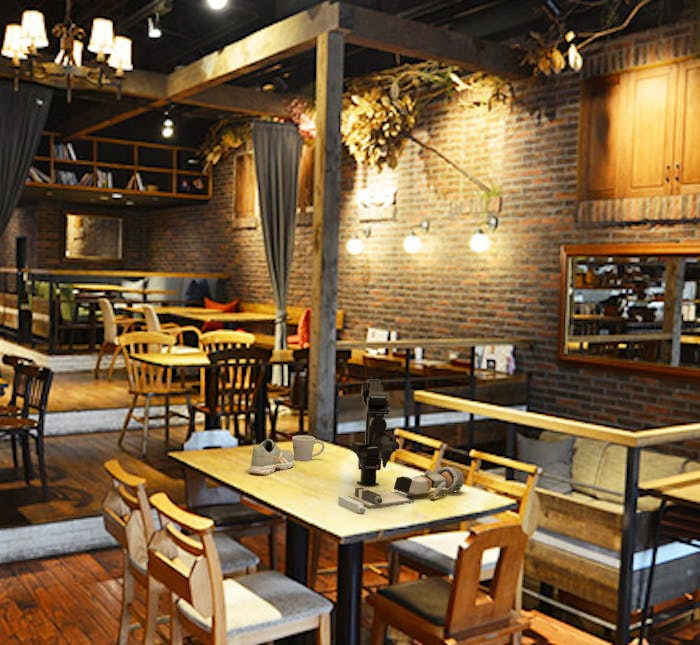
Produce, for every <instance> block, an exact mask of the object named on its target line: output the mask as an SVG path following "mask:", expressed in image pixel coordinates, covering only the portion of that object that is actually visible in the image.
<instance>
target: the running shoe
mask: <svg viewBox="0 0 700 645" xmlns="http://www.w3.org/2000/svg"><path fill="white" fill-rule="evenodd" d="M294 464H295V459H294V452H293V451H291V450H289V449H281V448H279V445H278V444H277V443H275V442H274V441H273V440H272V439H271V438H266V439H265V440H263V441H262V442H261V443H260V444H259V445H258V446H257V445H253V447H252V455H251V463H250V466H249V470H248V472H249V474H251V473H252V474H253V475H260V476H261V475H262V476H270V475H272V474H274V472H275V471H276V470H277V471H284V470H283V469H285V470H287V469H292V468H294ZM291 467H292V468H291ZM279 469H280V470H279ZM269 474H270V475H269Z"/></svg>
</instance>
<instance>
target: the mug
mask: <svg viewBox="0 0 700 645" xmlns="http://www.w3.org/2000/svg"><path fill="white" fill-rule="evenodd" d="M291 440H292V449H293V451H292V452H293V456H294V461H295V460H296V461H297V460H298V461H299V462H309V461H311V460H312V458H314V457H317V456H319V455H320V454H322V453H323V452H324V450H325V444H324V442H323V441H321V440H316V437H315V436H312V435H302V434H301V435H295V436H292V437H291ZM315 444H320V445H321V448H320V450H319V451H318V452H316V453H313V452H314V447H315Z"/></svg>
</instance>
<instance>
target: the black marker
mask: <svg viewBox="0 0 700 645" xmlns="http://www.w3.org/2000/svg"><path fill="white" fill-rule="evenodd" d="M377 493H378V492H373V491H371V490H369V489H367V488H364V487H355V488H354V496H356V497H358V498H360V499H363V500H365V501H367V502H369V503H372V504H380V503H382V498H381V497H380V495H379V494H377Z"/></svg>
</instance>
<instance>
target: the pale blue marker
mask: <svg viewBox="0 0 700 645" xmlns="http://www.w3.org/2000/svg"><path fill="white" fill-rule="evenodd" d="M348 496H349V495H348ZM348 496H347V495H340V496H338V499H337V500H338V503H337V505H338V504H339V506H340V505H341V507H343V508H344V509H347V510H349V511H350V512H353V513H355V514H364V513H365V512H366V507H364V504H363V503H361V502H358V501H356V500H354V499H352V498H350V497H348Z"/></svg>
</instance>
